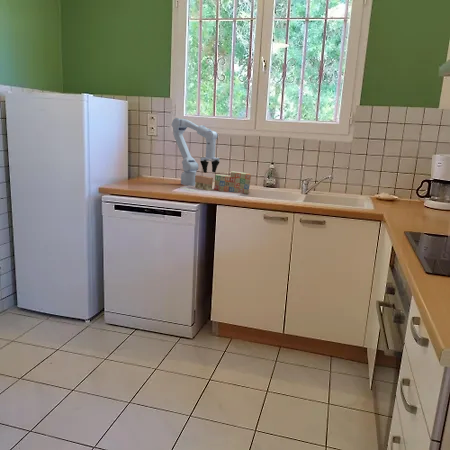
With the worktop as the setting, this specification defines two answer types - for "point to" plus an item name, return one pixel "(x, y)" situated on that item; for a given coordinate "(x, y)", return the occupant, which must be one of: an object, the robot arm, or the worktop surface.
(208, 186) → the pillar
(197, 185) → the pillar
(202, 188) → the blueprint board
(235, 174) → the stack of blocks
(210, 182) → the beam
